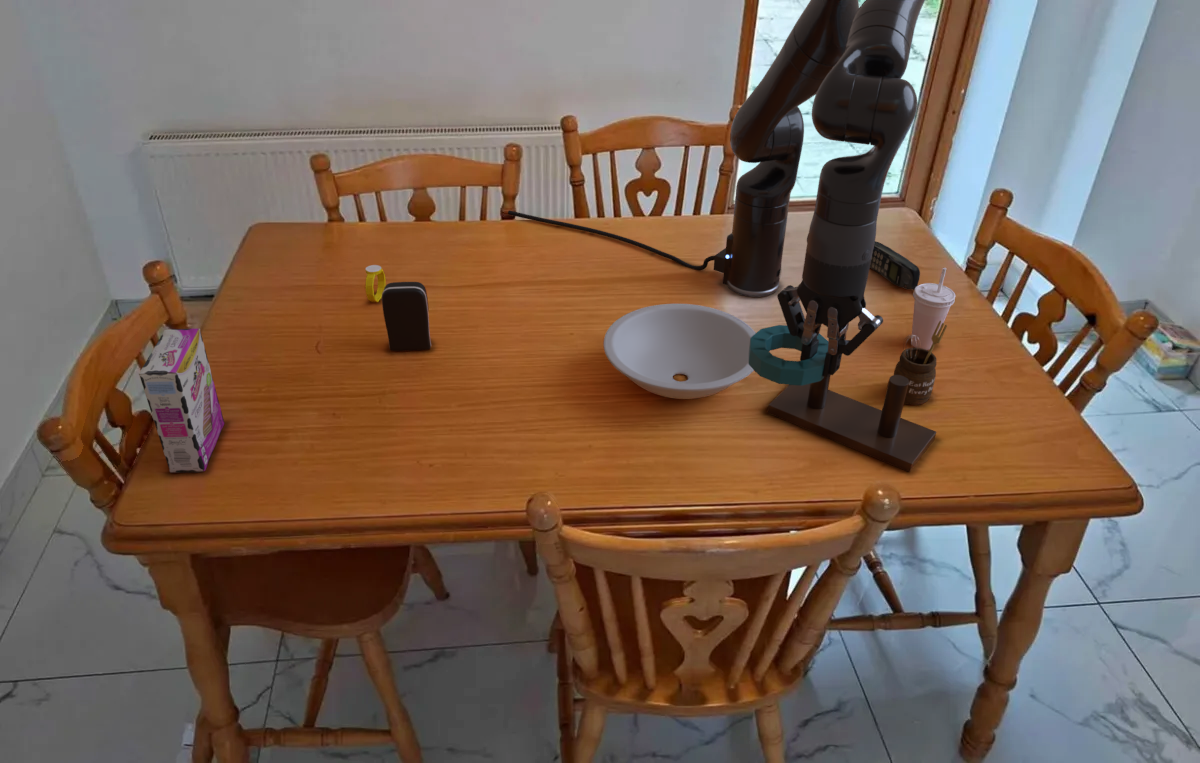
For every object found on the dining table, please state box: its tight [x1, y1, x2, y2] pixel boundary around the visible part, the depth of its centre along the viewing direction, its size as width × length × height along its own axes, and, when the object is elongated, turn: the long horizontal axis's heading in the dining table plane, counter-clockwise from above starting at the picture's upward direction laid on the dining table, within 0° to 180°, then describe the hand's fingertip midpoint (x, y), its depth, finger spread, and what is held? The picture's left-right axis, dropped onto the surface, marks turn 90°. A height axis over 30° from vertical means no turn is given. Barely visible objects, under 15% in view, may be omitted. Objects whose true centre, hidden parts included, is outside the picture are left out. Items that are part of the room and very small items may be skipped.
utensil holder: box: [893, 321, 948, 406], centre depth 138 cm, size 6×6×12 cm
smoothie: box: [910, 267, 956, 351], centre depth 149 cm, size 6×6×14 cm
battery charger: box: [381, 281, 432, 352], centre depth 149 cm, size 7×4×11 cm, turn 94°
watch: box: [364, 264, 387, 303], centre depth 163 cm, size 6×3×6 cm, turn 171°
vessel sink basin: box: [603, 303, 757, 400], centre depth 143 cm, size 24×24×7 cm
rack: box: [767, 374, 937, 473], centre depth 132 cm, size 22×9×10 cm, turn 53°
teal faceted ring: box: [749, 324, 828, 386], centre depth 120 cm, size 10×10×2 cm
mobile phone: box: [869, 240, 921, 291], centre depth 170 cm, size 5×3×15 cm
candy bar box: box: [138, 327, 225, 474], centre depth 125 cm, size 11×5×16 cm, turn 5°
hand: (818, 370), depth 118 cm, fingers closed on teal faceted ring, 2 cm apart
